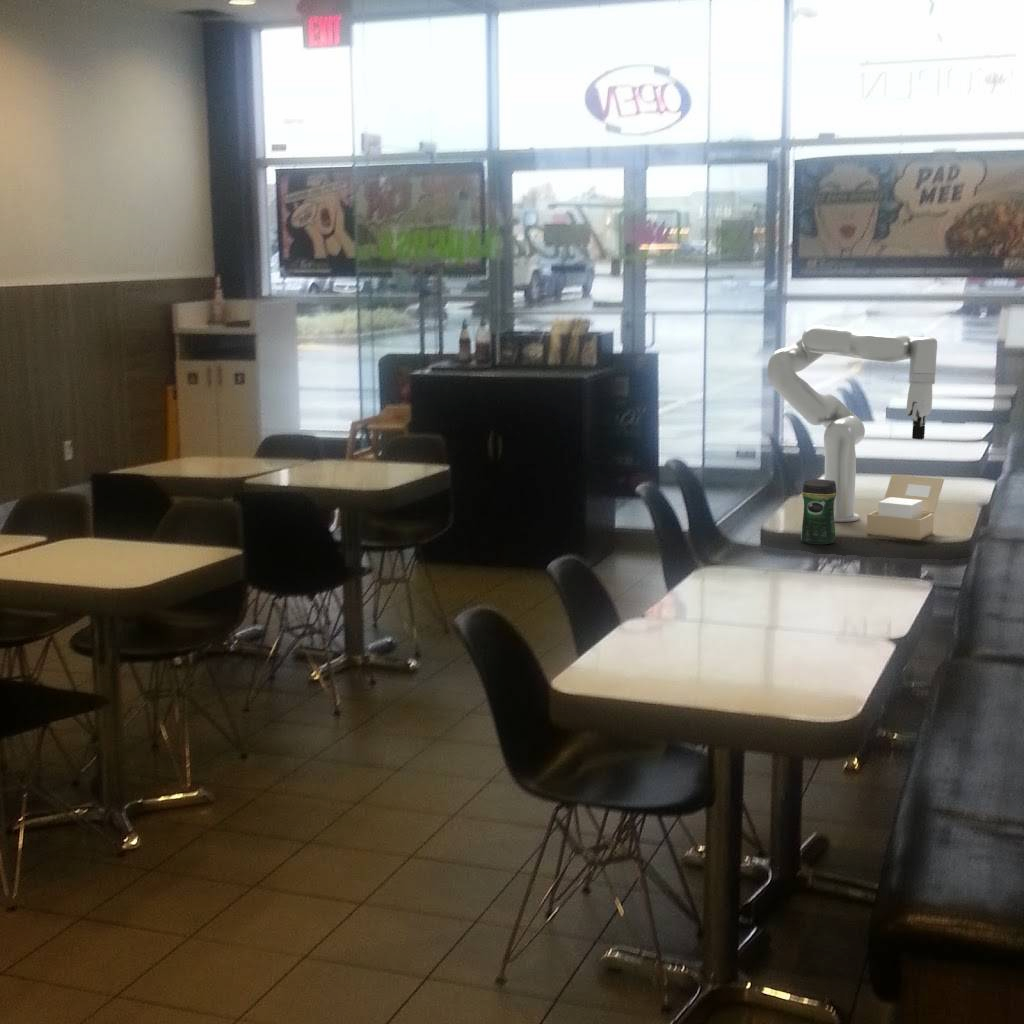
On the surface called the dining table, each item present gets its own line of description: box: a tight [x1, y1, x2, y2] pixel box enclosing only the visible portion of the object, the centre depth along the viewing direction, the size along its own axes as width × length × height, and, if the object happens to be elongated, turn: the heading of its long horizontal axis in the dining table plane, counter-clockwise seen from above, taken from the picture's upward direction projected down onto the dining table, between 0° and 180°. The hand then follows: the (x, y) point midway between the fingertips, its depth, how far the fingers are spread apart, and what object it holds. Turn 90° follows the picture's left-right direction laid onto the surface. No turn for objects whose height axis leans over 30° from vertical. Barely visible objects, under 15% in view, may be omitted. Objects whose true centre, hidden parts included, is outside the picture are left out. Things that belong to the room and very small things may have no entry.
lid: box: [883, 473, 945, 514], centre depth 406 cm, size 16×12×1 cm
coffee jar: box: [800, 478, 837, 545], centre depth 388 cm, size 10×8×19 cm
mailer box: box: [866, 497, 935, 541], centre depth 399 cm, size 16×12×10 cm
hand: (918, 438), depth 406 cm, fingers closed
